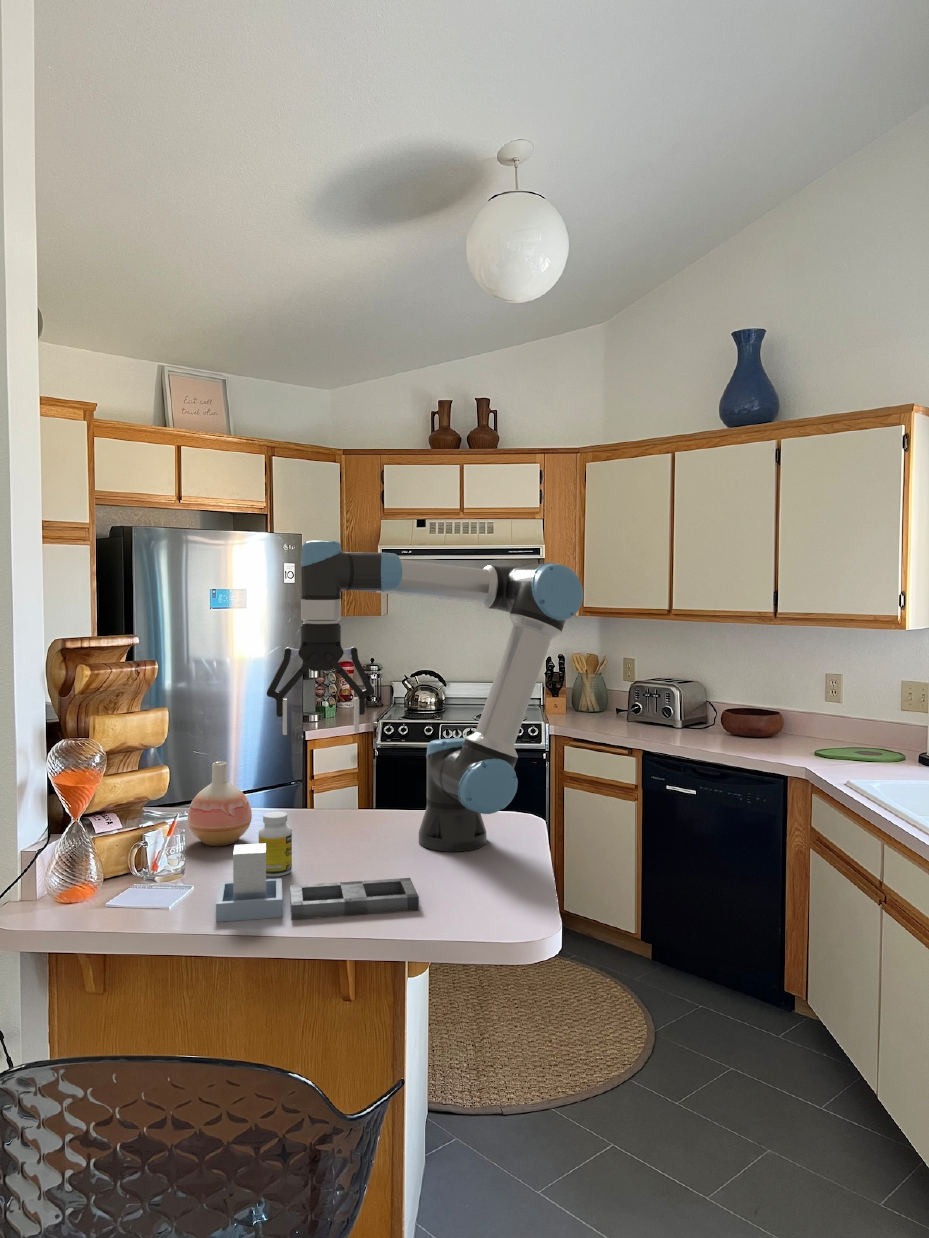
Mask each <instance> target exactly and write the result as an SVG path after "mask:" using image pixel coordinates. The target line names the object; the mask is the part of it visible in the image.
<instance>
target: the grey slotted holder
mask: <svg viewBox="0 0 929 1238" xmlns="http://www.w3.org/2000/svg"><path fill="white" fill-rule="evenodd" d="M289 889H290V891H289V893H290V894H289V895H290V897H289V899H290V900H289V903H290V904H289V905H290V915H291V916H290V917H291V918H290V919H291V920H292V921H295V920H304V919H305V920H308V919H320V918H322V919H323V918H333V917H334V918H335V917H348V916H349V917H350V916H362V915H373V914H374V915H375V914H377V915H378V914H387V913H389V914H390V913H402V912H405V913H406V912H417V911H419V910H420V909H419V908H420V907H419V903H420V899H419V898H420V896H419V895H418V892H417V890H416V888H415V886H414V884H413V881H412V879H411V877H404V878H403V877H402V878H385V879H370V880H358V881H356V880H355V881H344V882H343V881H341V882H339V881H338V882H325V883H324V882H323V883H309V884H294V885H290V886H289Z"/></svg>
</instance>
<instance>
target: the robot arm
mask: <svg viewBox="0 0 929 1238" xmlns="http://www.w3.org/2000/svg"><path fill="white" fill-rule="evenodd" d="M300 554H301V555H300V567H299V568H300V589H301V595H300V597H301V598H300V620H301V621H303V623H301V625H300V647H299V648H291V647H289V646H287V647H285V648H284V651H283V659H282V660H281V663H280V665H279V667H278V669H277V670H276V673H275V674H274V677H273V678H272V681H271V682H270V684H269V687H268V688H267V690H266V696H267V697H268V698H272V699H274V700H275V701H276V708H275V709H276V716H277V718H278V717H279V718H282V735H283V736H287V735H288V699H287V698H285V697H286V696H287V695H288V693H289V692H290V691H291V690H292V688H293V687H294V686H295V685H296V683H297V682H298V681H299V680H300V679H301V677H303V676H304V674H305V673H306V672H308V670H310V671H312V672H319V671H323V672H324V671H325V672H330V671H332V670H335V671H336V673H338V674H339V675H340V677H341V678H342V679H343V680H344V681H345V682H346V683H347V685H348V686H349V688H351V689H352V691H353V692H354V693H355V694H356V695H357V697H356V696H355V697H353V731H354V733H355V734H359V733H360V716H361V715H362V716H363V715H365V713H366V698H367V697H369V696H373V695H374V694H375V689H374V687H373V685H372V683H371V682H370V680H369V678H368V676H367V674H366V672H365V670H364V667H363V666H362V664H361V661H360V659H359V655H358V649H357V648H356V647H355V646H351V647H349V648H347V647H346V648H343V647H342V625H341V624H340V623H339V621H340V620H341V619H342V606H341V605H342V595H341V594H342V592H343V591H344V592H349V591H350V592H354V591H355V592H364V593H376V594H377V593H378V594H388V595H389V594H390V595H397V596H408V597H415V598H417V597H418V598H427V599H435V600H438V599H439V600H445V601H457V602H468V603H476V604H479V605H480V606H481V608H484V609H489V610H490V609H491V610H496V611H497V610H498V611H502V612H506V613H509V614H508V615H509V618H510V620H511V623H512V628H511V631H510V634H509V637H508V639H507V642H506V645H505V648H504V650H503V654H502V656H501V659H500V662H499V665H498V667H497V671H496V673H495V676H494V679H493V680H492V681H493V682H492V683H491V687H490V691H489V693H488V695H487V698H486V701H485V704H484V707H483V709H482V711H481V715H480V718H479V721H478V723H477V724H478V725H477V726H476V728H475V729H476V730H475V731H474V732H473V733H471V734H469V735H467V736H465V737H457V738H455V737H454V738H443V739H441V738H439V739H434V740H431V741H430V742H428V744H427V746H426V747H427V748H426V754H425V758H426V807H425V808H426V809H425V811H424V813H423V817H422V820H421V823H420V827H419V829H418V844H419V845H420V846H421V847H424V848H426V849H429V850H433V851H434V850H435V851H440V852H463V851H464V852H465V851H472V850H476V849H479V848H481V847H483V846H485V845H486V844H487V836H488V835H487V829H486V826H485V823H484V820H483V817H482V815H491V814H495V813H498V812H500V811H502V810H504V809H505V808H507V806H508V805H509V804H510V803H512V801H513V799H514V797H515V795H516V793H517V791H518V784H519V781H518V777H517V775H516V771H515V766H516V764H517V761H518V758H519V755H518V753H517V751H516V749H515V744H516V742H517V738H518V736H519V733H520V729H521V727H522V724H523V721H524V718H525V716H526V714H527V710H528V708H529V704H530V701H531V699H532V695H533V693H534V691H535V687H536V684H537V681H538V679H539V675H540V673H541V671H542V668H543V665H544V664H543V663H544V661H545V659H546V655H547V653H548V650H549V648H550V645H551V641H552V639H553V638H556V637H558V636H559V635H561V634H562V632H563V630H564V629H563V628H564V626H565V624H566V621H567V620H569V619H571V618H572V617H574V616H575V615H576V614H577V613H578V612H579V610H580V608H581V607H582V604H583V600H584V588H583V585H582V583H581V580H580V579H579V578H580V577H579V576H578V575H577V573H576V572H575V571H574V570H573V569H571V568H570V567H569V566H567V565H564V564H561V563H560V564H559V563H555V562H545V563H527V564H519V565H518V564H517V565H504V566H502V565H501V566H499V565H486V566H485V567H483V568H477V567H467V566H458V565H450V564H442V563H440V564H439V563H432V562H424V561H415V560H406V559H405V560H404V559H401V558H400V556H399V554H396V553H393V552H392V553H391V552H385V551H383V552H369V551H367V552H366V551H365V552H364V551H363V552H357V551H356V552H348V551H343V550H342V546H341V543H340V542H339V541H334V540H332V541H331V540H308V541H305V542H304V543H303V544H302V546H301V553H300ZM344 655H345V656H346V658H348V660H351V662H352V664H353V667H354V668H355V670H356V672H357V674H358V677H359V678H360V680H361V682H362V684H363V687H364V688H365V689H362V688H361V687H359V685H358V683H356V681H355V680H354V679H353V678H352V677H351V676H350V675H349V674H348V672H346V669H344V667H342V666H341V664H340V663H339V661H340V660H341V659H342V657H343V656H344ZM296 656H299V657H300V659H301V661H302V663H301V664H300V666H299V667H298V669H297V670H296V671H295V672H294V673H293V674H292V676H291V677H289V679H288V680H287V681H286V683H285V684H284V685H283V686H282V687H281V688H280V689H279V690H278V691H276V690H277V689H278V685H279V684H280V682H281V680H282V678H283V676H284V675H285V672H286V670H287V668H288V667H289V664H290V663H291V662H290V661H292V660H294V659H295V657H296Z"/></svg>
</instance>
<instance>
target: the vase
mask: <svg viewBox="0 0 929 1238" xmlns="http://www.w3.org/2000/svg"><path fill="white" fill-rule="evenodd" d="M211 770H212V772H211V774H212V775H211V783H210V784H207V786H205V787H204V788H203V789H202V790H200V791H199V792H198V793H197V794H196V795H195V797H193V799H192V801H191V803H190V804H189V808H188V811H187V825H188V829H189V831H190V832H191V833H192V835H193V836H194V837H195V838H197V839H198V840H199V841H200V842H201V843H202V844H204V845H206V846H210V847H211V846H212V847H224V846H228V845H231V844H234V843H236V842H237V841H238V840H239V839H240V838H241V837H242V836H244V835H245V833H246V832H247V830H248V829H249V827H250V825H251V823H252V820H253V819H252V816H253V814H252V807H251V803H250V801H249V799H248V797H247V795H245V793H244V792H242V790H241V789H239V788H238V787H236V786H235V785H234V784H232V783H231V782H229V781H228V764H227V762H226V761H216V762H213V763H212V768H211Z"/></svg>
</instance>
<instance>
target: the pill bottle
mask: <svg viewBox="0 0 929 1238" xmlns="http://www.w3.org/2000/svg"><path fill="white" fill-rule="evenodd" d="M287 822H288V813H286V812H285V811H284V812H283V811H269V812H266V813H264V814H263V815H262V823H264V825H263V826H262V827H260V828H259V830H258V844H262V843H266V877H269V878H270V877H271V878H273V877H274V878H277V877H283V876H286V875H289V874H290V873H291V872H292V869H293V863H292V862H293V850H292V849H293V832H292V831H293V830H292V828H291V827H290V826H289V825H288V824H287Z"/></svg>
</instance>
